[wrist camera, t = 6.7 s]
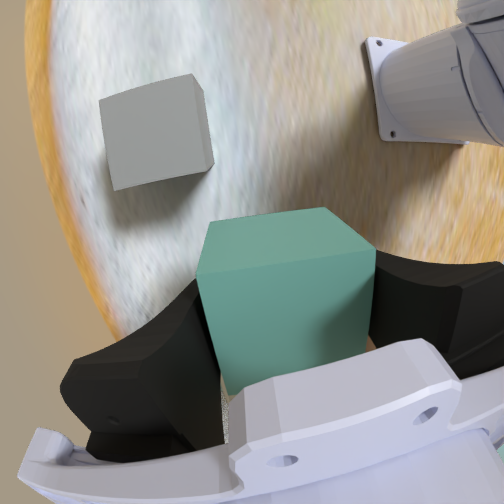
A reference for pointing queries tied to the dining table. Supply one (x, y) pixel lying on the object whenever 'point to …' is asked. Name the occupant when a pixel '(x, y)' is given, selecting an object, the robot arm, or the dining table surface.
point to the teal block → (284, 293)
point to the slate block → (156, 132)
